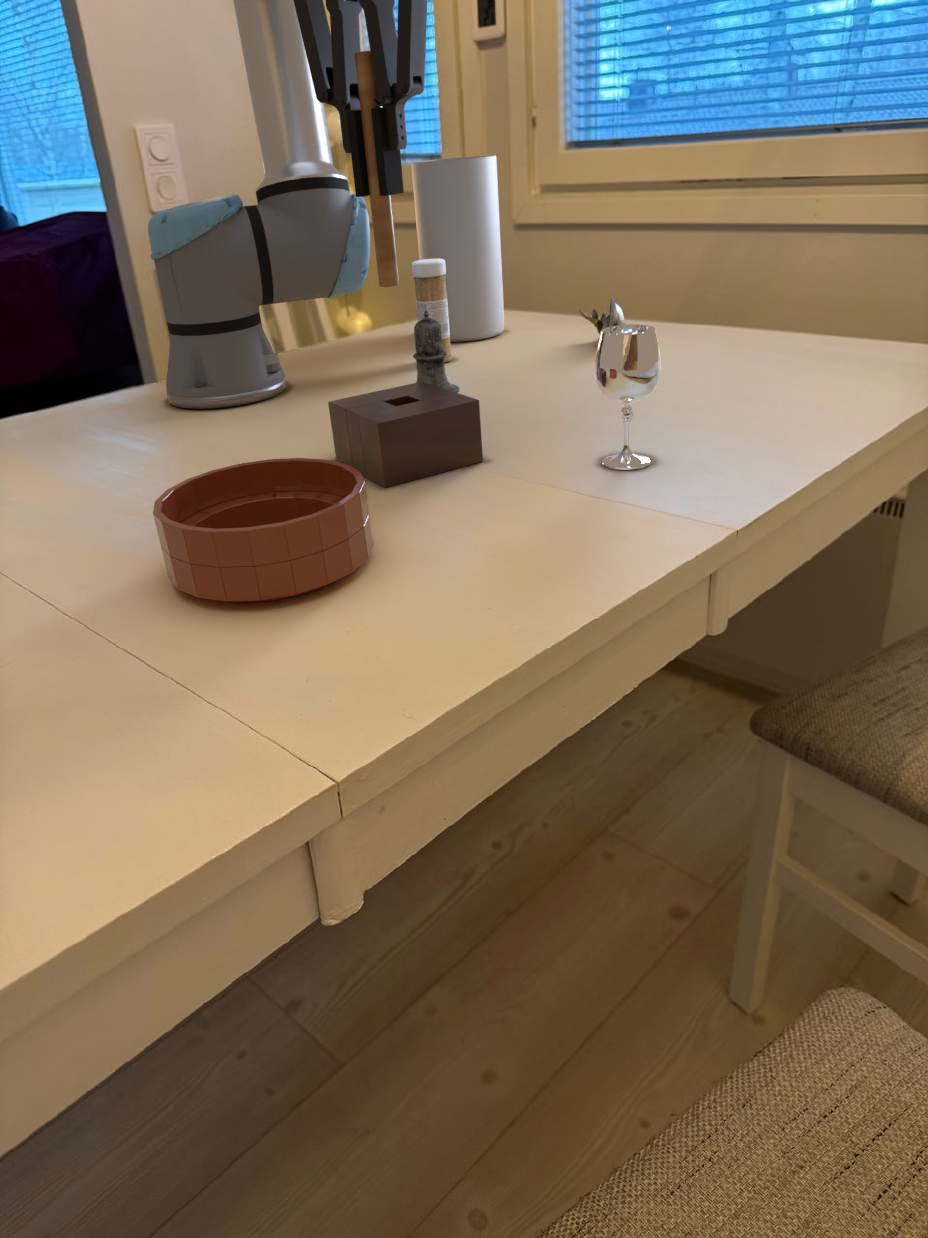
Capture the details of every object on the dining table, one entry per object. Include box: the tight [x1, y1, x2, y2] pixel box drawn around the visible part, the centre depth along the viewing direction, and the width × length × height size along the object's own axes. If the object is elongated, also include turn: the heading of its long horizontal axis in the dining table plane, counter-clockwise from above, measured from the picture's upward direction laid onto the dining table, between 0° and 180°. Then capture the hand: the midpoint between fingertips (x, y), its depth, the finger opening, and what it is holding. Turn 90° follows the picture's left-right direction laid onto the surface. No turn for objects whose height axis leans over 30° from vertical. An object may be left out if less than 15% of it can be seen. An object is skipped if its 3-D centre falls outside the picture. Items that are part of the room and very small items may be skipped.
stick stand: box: [327, 381, 484, 488], centre depth 89 cm, size 11×11×6 cm
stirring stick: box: [355, 50, 400, 288], centre depth 78 cm, size 2×2×18 cm
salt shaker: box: [412, 310, 460, 393], centre depth 99 cm, size 6×6×12 cm
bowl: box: [152, 457, 374, 603], centre depth 68 cm, size 15×15×6 cm
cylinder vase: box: [410, 154, 505, 343], centre depth 139 cm, size 12×12×25 cm
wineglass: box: [594, 323, 662, 471], centre depth 82 cm, size 6×6×12 cm
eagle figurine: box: [578, 298, 627, 336], centre depth 130 cm, size 8×7×9 cm
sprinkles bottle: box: [411, 259, 453, 363], centre depth 126 cm, size 5×5×14 cm
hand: (379, 194), depth 79 cm, fingers closed on stirring stick, 2 cm apart
